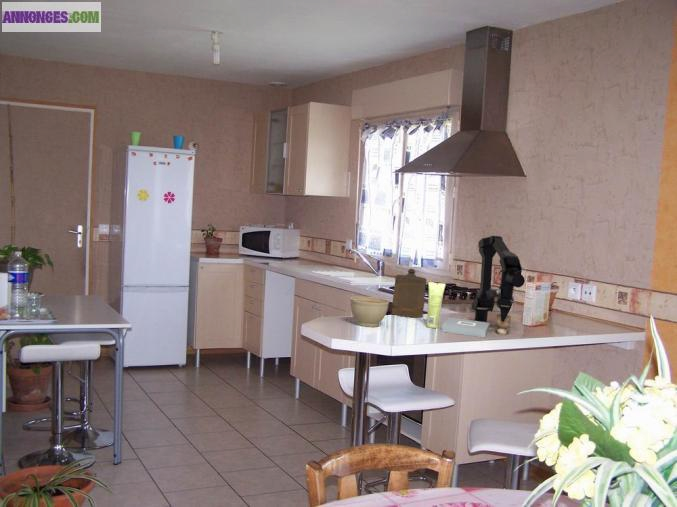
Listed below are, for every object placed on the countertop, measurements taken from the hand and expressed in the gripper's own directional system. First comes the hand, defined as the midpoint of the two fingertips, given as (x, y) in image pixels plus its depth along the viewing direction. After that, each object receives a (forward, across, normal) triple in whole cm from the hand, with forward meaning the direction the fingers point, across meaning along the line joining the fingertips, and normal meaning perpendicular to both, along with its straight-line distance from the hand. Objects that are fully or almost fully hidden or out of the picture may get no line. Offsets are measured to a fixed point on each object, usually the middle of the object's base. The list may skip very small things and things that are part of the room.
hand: (503, 319), depth 307 cm
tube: (+6, +8, -29) cm, 31 cm away
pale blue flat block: (+6, +4, -15) cm, 17 cm away
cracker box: (+6, -39, +13) cm, 42 cm away
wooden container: (+6, -17, -45) cm, 48 cm away
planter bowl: (+6, +25, -54) cm, 60 cm away
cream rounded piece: (+6, 0, 0) cm, 6 cm away
